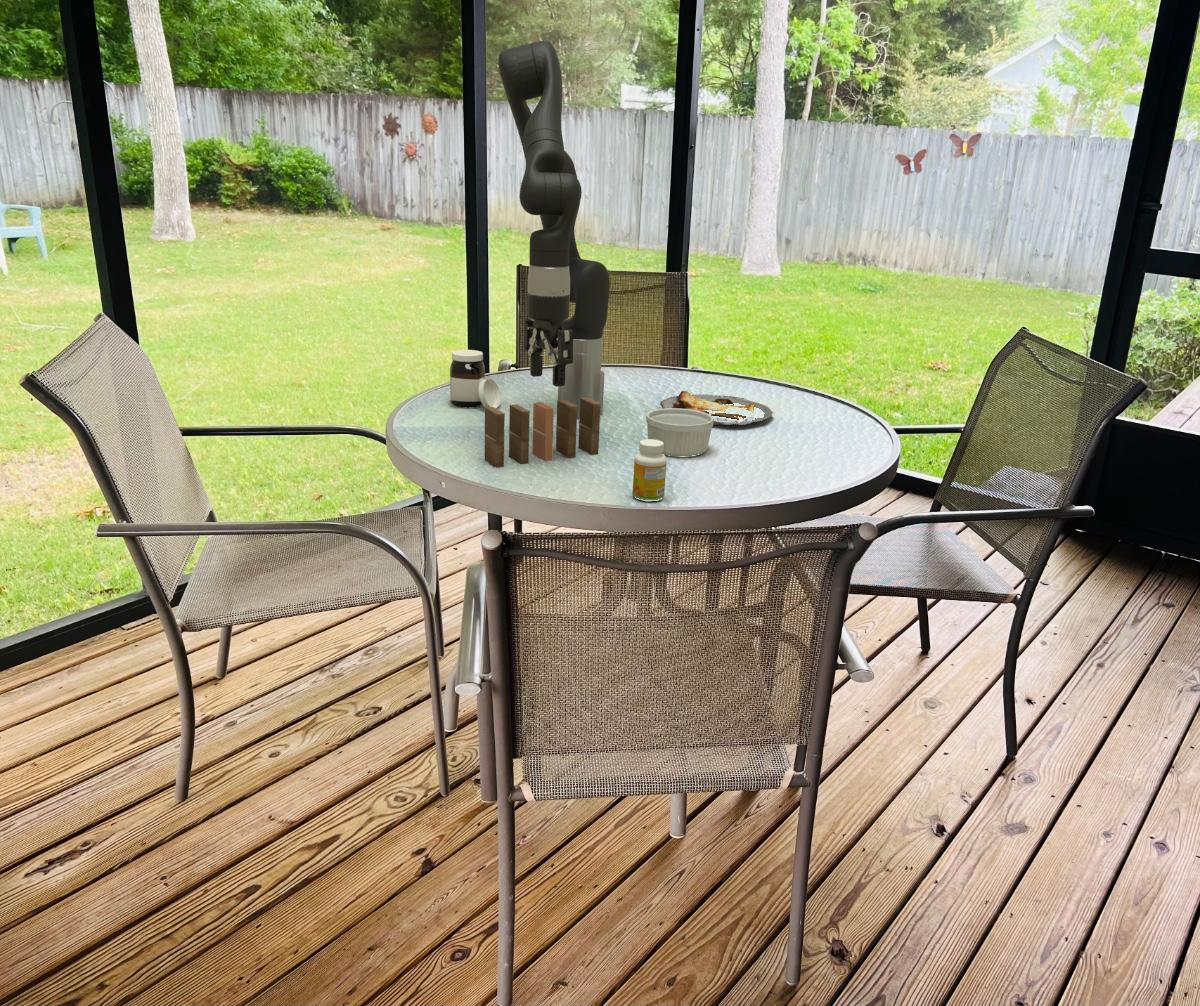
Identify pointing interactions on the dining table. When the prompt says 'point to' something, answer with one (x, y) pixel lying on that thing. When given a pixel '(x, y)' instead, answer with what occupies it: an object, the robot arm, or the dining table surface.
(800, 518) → the dining table surface
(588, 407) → the domino
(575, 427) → the domino
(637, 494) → the supplement bottle
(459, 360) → the spread jar
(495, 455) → the domino
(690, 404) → the food plate
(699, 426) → the ramekin
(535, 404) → the domino
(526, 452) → the domino
